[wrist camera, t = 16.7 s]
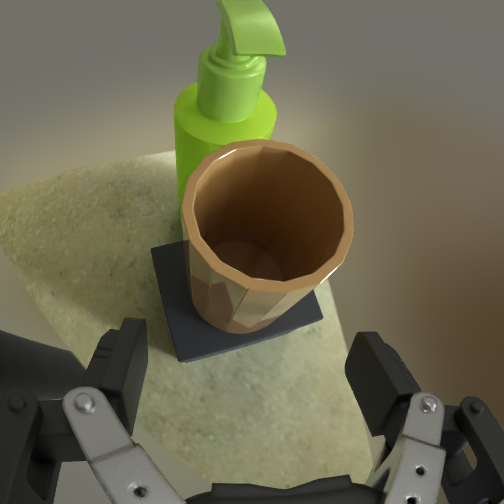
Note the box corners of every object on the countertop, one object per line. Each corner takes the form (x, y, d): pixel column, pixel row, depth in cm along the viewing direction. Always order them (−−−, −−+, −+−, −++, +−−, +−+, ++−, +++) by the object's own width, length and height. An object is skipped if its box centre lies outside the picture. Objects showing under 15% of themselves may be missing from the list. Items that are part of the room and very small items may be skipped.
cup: (204, 345, 18) (209, 315, 9) (178, 251, 20) (167, 153, 11) (300, 317, 19) (378, 264, 11) (268, 230, 21) (314, 132, 13)
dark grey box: (184, 365, 24) (178, 362, 17) (161, 280, 26) (150, 247, 20) (293, 333, 26) (324, 318, 20) (265, 254, 28) (286, 217, 22)
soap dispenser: (186, 260, 27) (177, 43, 9) (176, 191, 29) (172, -19, 11) (253, 251, 28) (340, 49, 10) (238, 184, 31) (287, -15, 12)
